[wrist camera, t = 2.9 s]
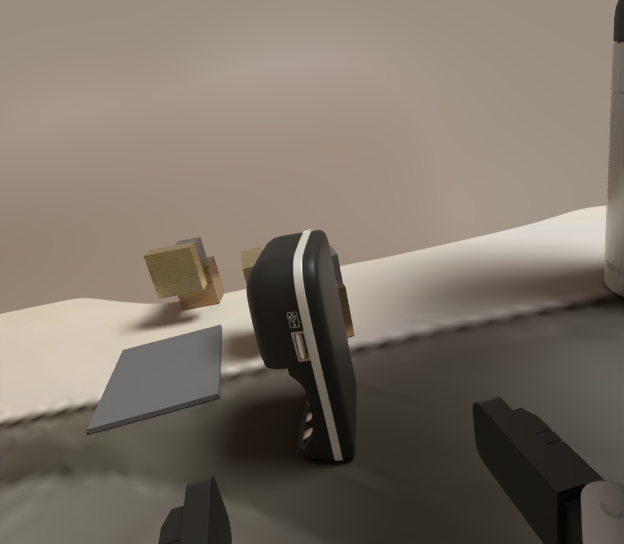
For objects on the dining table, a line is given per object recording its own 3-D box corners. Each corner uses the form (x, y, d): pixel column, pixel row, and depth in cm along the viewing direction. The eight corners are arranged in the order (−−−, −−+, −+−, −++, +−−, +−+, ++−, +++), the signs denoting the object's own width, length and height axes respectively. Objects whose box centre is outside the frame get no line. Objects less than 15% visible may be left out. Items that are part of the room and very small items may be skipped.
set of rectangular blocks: (207, 288, 52) (188, 225, 49) (371, 320, 37) (357, 232, 34) (146, 321, 46) (120, 252, 44) (310, 373, 32) (286, 275, 29)
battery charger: (301, 389, 30) (261, 229, 26) (357, 384, 29) (325, 219, 25) (285, 471, 24) (229, 276, 20) (356, 466, 23) (313, 263, 19)
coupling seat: (222, 328, 41) (220, 324, 41) (219, 398, 31) (218, 393, 31) (124, 353, 40) (122, 350, 40) (89, 434, 30) (86, 429, 30)
